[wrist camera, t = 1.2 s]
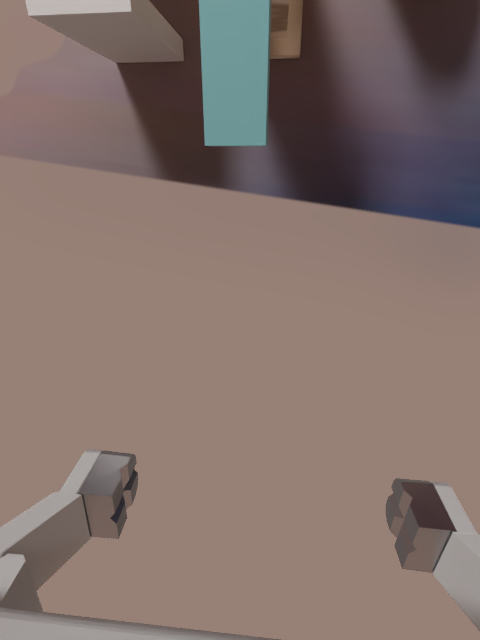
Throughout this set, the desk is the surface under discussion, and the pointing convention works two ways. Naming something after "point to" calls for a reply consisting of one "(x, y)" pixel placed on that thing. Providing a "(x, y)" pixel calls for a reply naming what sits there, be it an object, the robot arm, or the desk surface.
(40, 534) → the robot arm
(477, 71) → the desk surface
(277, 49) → the birch shelf
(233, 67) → the teal rectangular bar
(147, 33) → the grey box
